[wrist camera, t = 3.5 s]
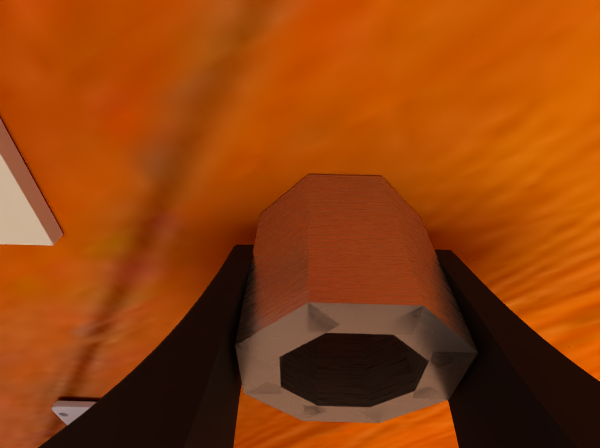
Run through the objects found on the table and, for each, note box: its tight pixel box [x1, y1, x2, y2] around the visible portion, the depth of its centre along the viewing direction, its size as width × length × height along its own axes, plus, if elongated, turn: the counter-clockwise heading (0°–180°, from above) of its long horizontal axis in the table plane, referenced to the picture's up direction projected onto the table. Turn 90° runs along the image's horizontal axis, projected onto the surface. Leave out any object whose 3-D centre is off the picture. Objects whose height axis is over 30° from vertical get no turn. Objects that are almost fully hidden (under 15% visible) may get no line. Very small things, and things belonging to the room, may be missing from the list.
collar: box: [235, 174, 478, 423], centre depth 10 cm, size 6×6×5 cm
